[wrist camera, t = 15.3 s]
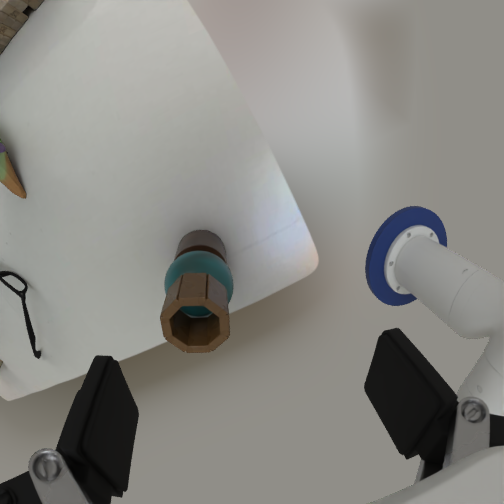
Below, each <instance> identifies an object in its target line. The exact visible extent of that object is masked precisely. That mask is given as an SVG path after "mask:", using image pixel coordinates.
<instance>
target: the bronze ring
mask: <svg viewBox="0 0 504 504" xmlns="http://www.w3.org/2000/svg"><path fill="white" fill-rule="evenodd" d="M182 306H205V307H206V308H207V309H209V310H210V311H211V312H213V313H212V314H211V315H210V316H209V317H200V318H190V317H189V316H188V315H186V314H185V313H184V312H182V311H181V310H180V308H181V307H182ZM160 320H161V326H162V331H163V336H164V337H166V338H165V339H166V340H167V341H168V342H170V343H171V344H173V345H174V346H176V347H177V348H179V349H180V350H182V351H183V352H185V351H186V352H187V353H203V352H210V350H211V351H214V350H215V349H216V348H217V347H218V346H219V345H221V344H222V343H223V342H224V341H225V340H226V339H228V337H229V336H230V326H229V309H228V298H227V289H226V288H225V286H224V285H222V284H221V283H220V282H219V281H217V280H216V279H215V278H214V277H213V276H211V275H210V274H208V275H207V273H184V275H181V276H180V277H179V278H178V279H177V280H176V281H175V282H174V283H173V284H172V285H171V286H170V287H169V288H168V291H167V294H166V298H165V301H164V305H163V308H162V312H161V315H160Z"/></svg>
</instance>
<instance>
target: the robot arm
mask: <svg viewBox="0 0 504 504" xmlns="http://www.w3.org/2000/svg"><path fill="white" fill-rule="evenodd" d="M384 275H385V279H386V282H387V284H388V285H389V287H391V288H392V289H393V290H394V291H395V292H397V293H400V294H410V293H411V294H412V295H414V296H415V297H416V298H417V299H418V300H420V301H421V302H422V303H423V304H424V305H425V306H426V307H428V308H429V309H430V310H431V311H432V312H433V313H434V314H436V315H437V316H438V317H439V318H440V319H441V320H442V321H443V322H444V323H446V324H447V325H448V326H449V327H450V328H451V329H452V330H453V331H455V332H456V333H457V334H458V335H459V336H461V337H463V338H467V339H478V338H484V337H488V336H489V337H490V339H489V342H488V344H487V346H486V348H485V349H484V352H483V354H482V355H481V357H480V358H479V360H478V361H477V363H476V365H475V366H474V368H473V369H472V371H471V372H470V373H469V375H468V376H467V378H466V379H465V380H464V382H463V384H462V385H461V387H460V388H459V390H458V392H457V394H455V393H454V391H453V390H452V389H451V388H450V386H449V385H448V384H447V383H446V382H445V381H444V379H443V378H442V377H441V376H440V375H439V373H438V372H437V371H436V370H435V369H434V367H433V366H432V365H431V364H430V363H429V362H428V361H427V359H426V358H425V357H424V356H423V355H422V354H421V352H420V351H419V350H418V349H417V348H416V347H415V346H414V345H413V343H412V342H411V341H410V340H409V339H408V338H407V337H406V336H405V334H404V333H403V332H402V331H401V330H400V329H399V328H394V329H390V330H385V331H384V332H383V333H382V335H381V336H379V338H378V341H377V345H376V349H375V352H374V356H373V359H372V362H371V366H370V369H369V372H368V375H367V378H366V382H365V385H364V389H365V392H366V394H367V396H368V398H369V400H370V401H371V403H372V405H373V406H374V408H375V410H376V412H377V413H378V415H379V417H380V419H381V421H382V422H383V424H384V426H385V428H386V430H387V431H388V433H389V435H390V437H391V438H392V440H393V442H394V444H395V446H396V448H397V449H398V451H399V453H400V454H402V455H404V456H405V458H406V459H409V458H412V457H414V456H416V455H418V454H419V455H420V457H421V461H420V466H419V469H418V473H417V476H416V480H415V483H414V484H413V485H411V486H409V487H407V488H405V489H402V490H400V491H398V492H396V493H393V494H391V495H389V496H386V497H384V498H381V499H379V500H376V501H374V502H371V503H368V504H504V281H503V280H501V279H500V278H498V277H497V276H495V275H493V274H491V273H490V272H488V271H487V270H484V269H483V268H481V267H480V266H478V265H476V264H475V263H473V262H471V261H469V260H468V259H466V258H464V257H463V256H461V255H459V254H457V253H456V252H454V251H452V250H450V249H448V248H446V247H445V246H443V245H441V244H439V240H438V237H437V235H436V234H435V232H434V231H433V230H431V229H430V228H428V227H426V226H423V225H414V226H411V227H409V228H407V229H405V230H404V231H402V232H401V233H400V234H399V235H398V236H397V237H396V238H395V240H394V241H393V243H392V244H391V246H390V248H389V250H388V252H387V255H386V259H385V263H384ZM138 417H139V413H138V408H137V406H136V403H135V401H134V399H133V397H132V394H131V392H130V390H129V388H128V385H127V383H126V381H125V378H124V376H123V374H122V371H121V368H120V366H119V363H118V361H117V360H114V359H113V357H112V356H99V355H97V356H95V358H94V359H93V362H92V364H91V366H90V368H89V371H88V373H87V375H86V378H85V380H84V383H83V385H82V387H81V389H80V390H79V391H78V392H77V394H76V396H75V399H74V401H73V404H72V406H71V409H70V411H69V414H68V417H67V419H66V422H65V425H64V427H63V430H62V433H61V436H60V439H59V442H58V444H57V447H56V450H53V449H41V450H38V451H37V452H35V453H34V454H33V455H32V456H31V458H30V461H29V466H28V468H29V471H27V472H25V473H23V474H21V475H19V476H17V477H15V478H13V479H10V480H8V481H6V482H3V483H1V484H0V504H110V503H111V496H116V497H122V495H123V491H124V492H126V491H127V488H128V480H129V474H130V466H131V459H132V452H133V445H134V440H135V434H136V428H137V423H138Z"/></svg>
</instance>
